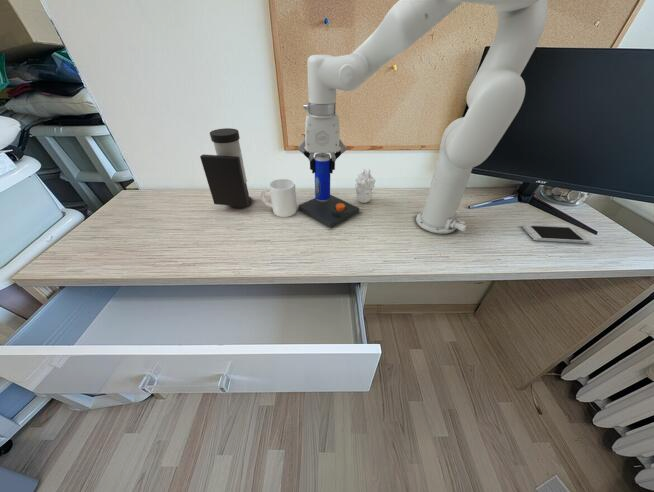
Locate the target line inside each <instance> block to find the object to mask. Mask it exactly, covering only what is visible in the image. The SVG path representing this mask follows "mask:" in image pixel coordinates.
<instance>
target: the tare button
mask: <svg viewBox="0 0 654 492" xmlns="http://www.w3.org/2000/svg"><path fill="white" fill-rule="evenodd" d="M336 210H337V211H344V210H345V204H343V203H338V204H336Z"/></svg>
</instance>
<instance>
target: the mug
mask: <svg viewBox="0 0 654 492" xmlns="http://www.w3.org/2000/svg"><path fill="white" fill-rule="evenodd" d="M267 192H270V200H271V202H270V201H268V200H267V198H266V193H267ZM260 199H261V202H263V204H264V205H266V206H267V207H270V208H272V212H273V214H274V215H275V216H277V217H280V218H288V217H292V216H294V215H295V214H296V213H297V210H298V204H297V203H298V202H297V192H296V183H295V181H294V180H292V179H289V178H278V179H274V180H272V181H271V182H270V183H269V186H265V187H264V188H263V189H262V190H261V192H260Z"/></svg>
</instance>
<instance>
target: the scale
mask: <svg viewBox="0 0 654 492" xmlns="http://www.w3.org/2000/svg"><path fill="white" fill-rule="evenodd" d="M338 203H343V204H345V210H344V211H337V210H336V204H338ZM297 210H298V211H299V212H301V213H303V214H305V215H306V216H308V217H309V218H311V219H313V220H315V221H317V222H319V223H321V224H322V225H324V226H325V227H327V228H329V229H332V228H334V227H336V226H338V225H340V224H342V223H343V222H345V221H347V220H348V219H350V218H352V217H354V216H355V215H357V214H359V213H360V207H358V206H356V205H354V204H352V203H349V202H347V201H345V200H343V199H341V198H339V197H336V196H334V195H332V194H330V198H329V200H327V201H323V202H322V201H318V200H317V199H316V198H315V197H313V198H311V199H309V200H307V201H305V202H302V203H300V204H297Z"/></svg>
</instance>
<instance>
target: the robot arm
mask: <svg viewBox="0 0 654 492" xmlns="http://www.w3.org/2000/svg"><path fill="white" fill-rule="evenodd" d="M463 3H466V4H467V3H468V4H474V5H475V4H476V5H487V6H493V7H494V10H495V11H496V13H497V29H496V32H495V34H494V37H493V39H492V42H491V44H490V47H489V49H488V51H487V53H486V54H485V57H484V59H483V61H482V62H481V65H480V67H479V69H478V71H477V73H476V74H475V76H474V78H473V80H472V82H471V83H470V86H469V88H468V90H467V93H466V98H465V99H466V104H467V107H468V109H467V111H466V113H465V115H464V116H463V117H459V118H456V119H455V120H453V121H452V122H451V123H449V124H448V125H447V127H446V128H445V130H444V132H443V134H442V136H441V139H440V145H439V150H438V155H437V159H436V164H435V167H434V171H433V175H432V178H431V181H430V184H429V185H430V186H429V189H428V193H427V197H426V200H425V203H424V207H423V210H422V211H420V212H419V213H417V215H416V218H415V222H416V223H417V225H418V226H419V228H421V229H423V230H424V231H427V232H430V233H433V234H439V235H440V234H441V235H445V234H451V233H453V232H455V231H456V229H457V230H458V231H461V232H465V231H466V230H467V227H468V226H467V225H466V223H467V222H466V221H464V220H461V219H459V218H458V217H459V213H457V212H458V209H459V207H460V204H461V201H462V198H463V195H464V194H465V191H466V187H467V185H468V182H469V180H470V177H471V174H472V171H473V169H474V168H475V167H477V166H479V165H481V164H483V163H484V162H485V161H486V160H487V159H488V158H489V156H491V154H492V153H493V151H494V150H495V148H496V147H497V146H498V144H499V142H500V141H501V139H502V138H503V136H504V135H505V134H506V132H507V130H508V128H509V127H510V126H511V124H512V122H513V121H514V119H515V118H516V116H517V114H518V113H519V111H520V109H521V108H522V104H523V103H524V99H525V96H526V84H525V80H524V79H523V77H522V76H521V75H522V73H523V71H524V69H525V68H526V66H527V64H528V63H529V61H530V59H531V57H532V55H533V53H534V51H535V50H536V48H537V46H538V44H539V42H540V41H541V38H542V35H543V33H544V31H545V27H546V24H547V18H548V0H398V1H397V2H396V3H395V4H393V5H392V7H390V9H389V10H388V12H387V13H386V15H385V16H384V18H383V19H382V21H381V23H380V24H379V25H378V26H377V28H376V29H375V30H374V31H373V32H372V33H371V34H370V35H369V37H367V38H366V39H365V40H364V41H363V42H362V43H361V44H360V45H359V46H357V48H356V49H354V50H353V51H352V52H351V53H349V54H344V55H336V56H334V55H332V54H312V55H310V56H308V58H307V62H306V63H307V64H306V65H307V67H306V68H307V92H308V94H307V95H308V103H306V104H303V111H307V112H308V113H306V116H305V123H304V139H303V140H302V142H301V143H300V144H299V146H298V148H297V150H298V151H299V152H300V153H302V154H303V155H304V156H305V157H306V158H307V159H308V161H309V170H310V171H311V174H315V168H314V157H315V154H318V153H327V154H329V155H330V158H331V164H330V174H333V173H334V172H333V171H335V170H336V161H337V160H338V158H340V157H341V156H342V154H344V153H345V152H346V151H347V146H346V145H345V144H344V142H343V141H342V139H341V138H340V120H339V115H338V114H337V113H336V109H337V107H336V105H337V90H339V91H343V92H353V91H355V90H357V89H358V88H359V87H360V86H361V85H363V84H364V83H365V82H366V81H367V80H368V79H370V78H371V77H372V76H373V75H374V74H375V73H376V72H377V71H379V70H380V69H381V68H383V66H385V65H386V64H388V63H389V61H391V60H393V59H394V58H395V57H396V56H398V55H400V54H401V53H403V52H405V51H406V50H407V49H408V48H410V47H411V46H412V45H414V44H415V43H416V42H418V40H419V39H421V38H422V37H423V36H425V35H426V34H427V33H428V32H429V31H430V30H432V29H433V28H434V27H435V26H436V25H438V24H439V23H440V22H441V21H442V20H443V19H445V18H446V17H447V16H448V15H450V14H451V13H452V12H453V11H455V10H456V9H457V8H458V7H459V6H460V5H462V4H463Z"/></svg>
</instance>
